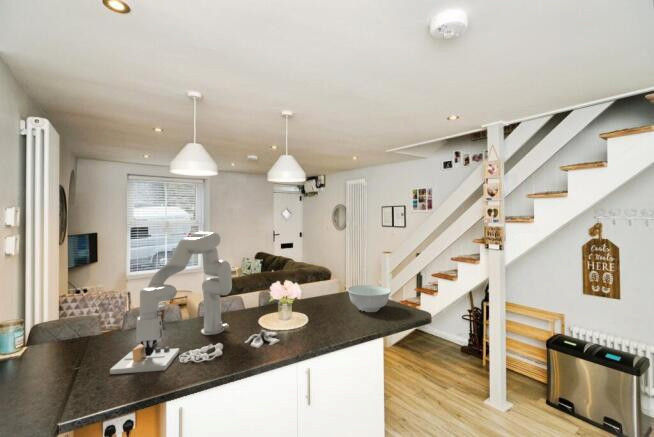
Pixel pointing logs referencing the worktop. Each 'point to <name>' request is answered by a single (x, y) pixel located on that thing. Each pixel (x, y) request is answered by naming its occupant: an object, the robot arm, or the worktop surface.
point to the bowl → (368, 297)
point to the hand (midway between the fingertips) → (149, 354)
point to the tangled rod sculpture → (204, 356)
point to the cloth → (262, 338)
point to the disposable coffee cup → (162, 309)
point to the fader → (138, 352)
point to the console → (146, 361)
